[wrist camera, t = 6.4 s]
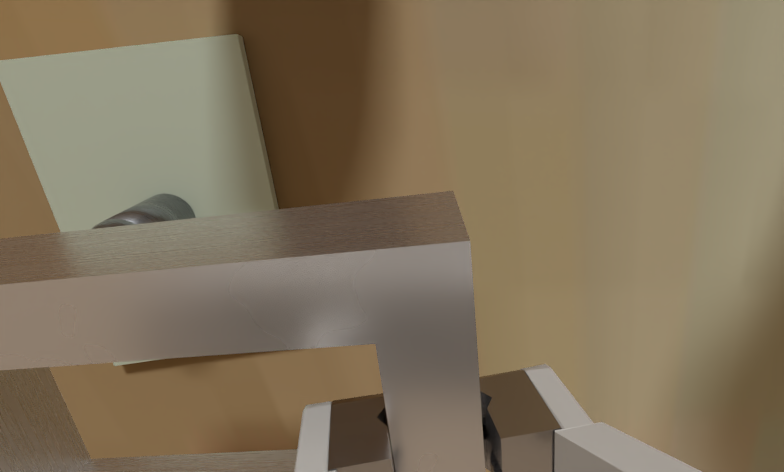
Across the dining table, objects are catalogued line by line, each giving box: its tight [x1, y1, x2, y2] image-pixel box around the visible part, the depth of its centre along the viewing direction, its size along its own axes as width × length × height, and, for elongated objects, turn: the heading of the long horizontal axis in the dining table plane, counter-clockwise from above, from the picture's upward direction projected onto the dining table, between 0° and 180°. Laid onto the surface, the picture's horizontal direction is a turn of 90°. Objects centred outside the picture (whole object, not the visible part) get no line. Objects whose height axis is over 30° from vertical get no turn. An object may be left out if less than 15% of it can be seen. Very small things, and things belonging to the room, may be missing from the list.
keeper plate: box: [0, 34, 279, 366], centre depth 24 cm, size 12×18×1 cm, turn 7°
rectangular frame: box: [0, 191, 485, 472], centre depth 9 cm, size 12×8×3 cm, turn 97°
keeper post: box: [92, 193, 196, 229], centre depth 21 cm, size 3×3×6 cm
